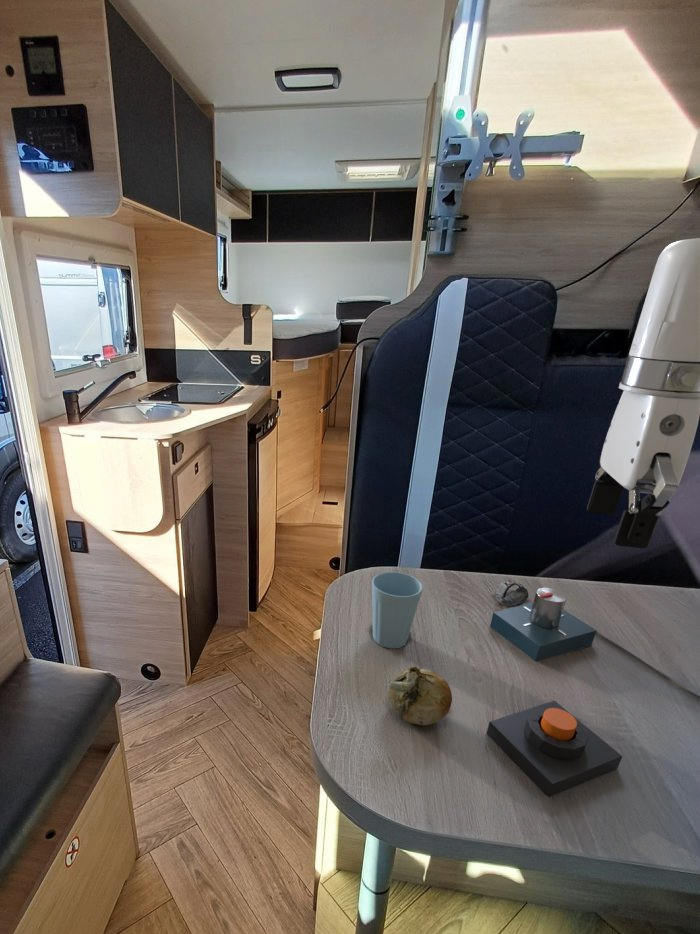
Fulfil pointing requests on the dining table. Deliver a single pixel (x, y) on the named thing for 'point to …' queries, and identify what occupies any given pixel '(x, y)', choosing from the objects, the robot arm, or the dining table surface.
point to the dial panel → (541, 632)
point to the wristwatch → (516, 596)
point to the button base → (552, 750)
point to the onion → (420, 696)
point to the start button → (558, 724)
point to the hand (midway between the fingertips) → (613, 528)
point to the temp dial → (547, 607)
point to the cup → (394, 607)
